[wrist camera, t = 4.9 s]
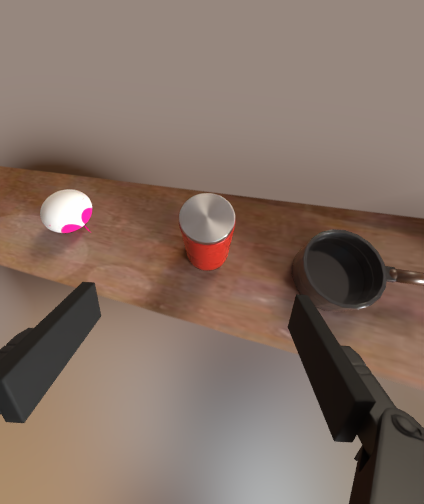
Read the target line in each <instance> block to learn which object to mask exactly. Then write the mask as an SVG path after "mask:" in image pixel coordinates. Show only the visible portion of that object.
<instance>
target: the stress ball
mask: <svg viewBox="0 0 424 504" xmlns="http://www.w3.org/2000/svg"><path fill="white" fill-rule="evenodd" d="M91 214H92V204H91V201H90V199H89V198H88V197H87V196H86V195H85V194H84V193H82V192H80V191H77V190H71V189H68V190H61V191H58V192H56V193H54V194H52V195H51V196H49V197H48V198H47V199H46V200H45V201H44V203H43V205H42V207H41V210H40V217H41V220H42V222H43V224H44V225H45V226H46V227H47V228H48V229H50V230H52V231H54V232H58V233H69V232H73V231H76V230H78V229H80V228H81V227H83V226H84V227H85V228H86V229H87V230H88V228H87V227H86V226H85V224H86V223H87V222H88V220H89V219H90V217H91ZM88 231H89V230H88Z"/></svg>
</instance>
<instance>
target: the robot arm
mask: <svg viewBox="0 0 424 504" xmlns="http://www.w3.org/2000/svg"><path fill="white" fill-rule="evenodd" d="M100 317H101V313H100V307H99V303H98V297H97V292H96V287H95V283H92V282H82V283H81V284H80V285H79V286H78V287H77V288H76V289H75V290H74V291H73V292H72V293H71V294H70V295H68V296H67V297H66V298H65V299H64V300H63V301H62V302H61V303H60V304H59V305H58V306H57V307H56V308H55V309H54V310H53V311H52V312H51V313H49V314H48V315H47V316H46V318H44V319H43V320H42V321H41V322H40V323H39V324H38V325H37V326H36V327H35V328H28V329H26V330H24V331H23V332H21V333H19V334H17V335H16V336H15V337H14V338H13V339H11V340H10V341H9V342H8V343H7V345H6V346H4V347H3V348H1V349H0V414H2V416H3V418H4V419H5V421H6V422H13V423H24V422H25V421H26V420H27V418H28V417H29V416H30V414H31V413H32V411H33V410H34V409H35V407H36V406H37V404H38V403H39V402H40V400H41V399H42V397H43V396H44V395H45V393H46V392H47V391H48V389H49V388H50V386H51V385H52V384H53V382H54V381H55V380H56V378H57V376H58V375H59V374H60V373H61V371H62V370H63V368H64V367H65V366H66V364H67V363H68V361H69V360H70V358H71V357H72V356H73V354H74V353H75V352H76V350H77V349H78V348H79V346H80V345H81V343H82V342H83V341H84V339H85V338H86V337H87V335H88V334H89V332H90V331H91V330H92V328H93V327H94V325H95V324H96V323H97V321H98V320H99V318H100ZM288 329H289V331H290V334H291V336H292V339H293V341H294V344H295V346H296V349H297V351H298V353H299V356H300V358H301V361H302V363H303V366H304V368H305V371H306V373H307V375H308V378H309V381H310V383H311V385H312V388H313V390H314V393H315V395H316V398H317V400H318V402H319V405H320V408H321V410H322V412H323V415H324V417H325V420H326V422H327V425H328V427H329V430H330V432H331V435H332V437H333V440H334V441H337V442H353V440H354V439H355V437H356V435H358V437H359V439H360V441H361V443H362V447H361V448H360V450H359V451H358V453H357V455H356V456H355V458H354V459H355V460H356V461H357V460H358V462H357V467H356V472H355V476H354V481H353V486H352V492H351V496H350V501H349V504H424V428H423V427H421V425H420V424H419V423H418V422H417V421H416V420H415V419H414V418H413V417H411V416H410V415H409V414H407V413H406V412H404V411H402V410H400V409H397V408H396V406H395V405H394V404H393V402H392V401H391V400H390V398H389V396H388V395H387V394H386V392H385V391H384V389H383V388H382V387H381V385H380V384H379V382H378V381H377V380H376V378H375V377H374V375H372V372H371V371H370V370H369V368H368V367H367V366H366V364H365V362H364V361H363V360H362V358H361V357H360V355H359V354H358V353H356V352H355V351H354V350H353V349H352V348H351V347H350V346H340V344H339V343H338V341H337V340H336V338H335V337H334V335H333V334H332V332H331V330H330V329H329V327H328V326H327V324H326V323H325V321H324V319H323V318H322V316H321V315H320V313H319V312H318V310H317V309H316V307H315V305H314V304H313V302H312V301H311V299H310V298H309V296H308V295H296V297H295V301H294V305H293V309H292V313H291V317H290V321H289V324H288Z"/></svg>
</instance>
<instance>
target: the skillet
mask: <svg viewBox="0 0 424 504" xmlns="http://www.w3.org/2000/svg"><path fill="white" fill-rule="evenodd" d="M292 275H293V280H294V283H295V285H296V287H297V289H298V291H299V292H300V293H301V295H308V296H309V298H310V299H311V301H312V302H313V304H314V305H315V306H316V307H318V308H320V309H323V310H326V311H332V312H342V311H348V310H354V309H360V308H363V307H367V306H370V305H372V304H373V303H374V302H376V301H377V300H378V299H379V298H380V297H381V295H382V293H383V291H384V290H385V288H386V280H387V274H386V269H385V264H384V262H383V260H382V258H381V256H380V255H379V253H378V251H377V250H376V249H375V248H374V247H373V246H372V245H371V244H370V243H369V242H368V241H367V240H365V239H363V238H362V237H360V236H359V235H357V234H354V233H352V232H349V231H346V230H334V229H333V230H328V231H324V232H321V233H319V234H318V235H316V236H314V237H313V238H312V239H311V240H310V241H308V242H307V243H306V244H305V245H304V246H303V247H302V248H301V249H300V250H299V252H298V253H297V254H296V256H295V258H294V261H293V265H292Z"/></svg>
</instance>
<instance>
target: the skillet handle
mask: <svg viewBox="0 0 424 504" xmlns="http://www.w3.org/2000/svg"><path fill="white" fill-rule="evenodd" d="M385 269H386V274H387V280H386V281H387V282H400V283H407V284H415V285H422V286H424V273H421V272H414V271H407V270H400V269H395V267H388V266H385Z"/></svg>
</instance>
